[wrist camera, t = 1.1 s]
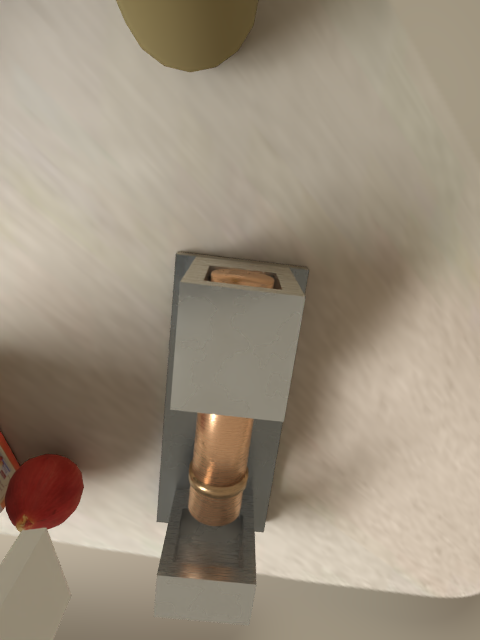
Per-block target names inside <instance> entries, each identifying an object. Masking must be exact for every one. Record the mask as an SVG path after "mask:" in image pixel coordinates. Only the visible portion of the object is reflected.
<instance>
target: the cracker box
mask: <svg viewBox="0 0 480 640" xmlns="http://www.w3.org/2000/svg"><path fill="white" fill-rule="evenodd" d="M19 467H20V465H19V464H18V462H17V460H16V458H15V456H14V455H13V453H12V451H11V449H10V447H9V446H8V444H7V442H6V440H5V438H4V437H3V435H2V433H1V431H0V513H1V512H2V510H3V509H4V507H5V494H6V491H7V488H8V484H9V481H10V479H11V477H12V476H13V474H14V472H15V471H16V470H17V469H18V468H19Z"/></svg>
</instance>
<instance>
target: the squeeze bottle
mask: <svg viewBox="0 0 480 640" xmlns="http://www.w3.org/2000/svg"><path fill="white" fill-rule="evenodd" d="M116 1H117V4H118V6H119V8H120V11H121V13H122V15H123V18H124V20H125V22H126V24H127V26H128V27H129V29H130V30H131V32H132V34H133V35H134V37H135V39H136V40H137V42H138V43H139V45H140V47H141V48H142V49H143V50H144V51H145V52H147V53H148V54H149V55H151V56H152V57H153V58H155V59H156V60H157V61H159V62H160V63H161V64H163V65H164V66H167V67H171V68H175V69H179V70H183V71H187V72H194V71H199V70H204V69H209V68H214V67H217V66H218V65H219V64H221V63H222V62H223V61H225V60H226V59H228V58H229V57H230V56H232V55H233V54H234V53H236V52H237V51H238V50H239V48H240V47H241V45H242V43H243V42H244V40H245V38H246V37H247V35H248V33H249V32H250V30H251V28H252V27H253V25H254V20H255V15H256V10H257V4H258V0H116Z"/></svg>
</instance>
